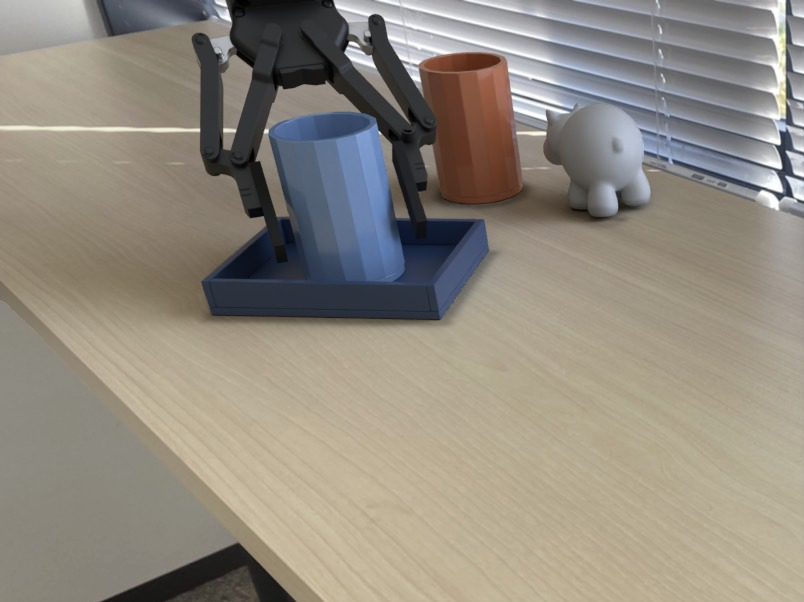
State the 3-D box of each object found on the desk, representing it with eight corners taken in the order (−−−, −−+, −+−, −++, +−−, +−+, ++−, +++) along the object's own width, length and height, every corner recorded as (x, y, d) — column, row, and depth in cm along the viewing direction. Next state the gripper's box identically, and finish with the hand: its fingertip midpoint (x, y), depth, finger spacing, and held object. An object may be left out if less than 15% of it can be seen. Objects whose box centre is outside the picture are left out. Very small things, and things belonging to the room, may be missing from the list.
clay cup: (430, 203, 103) (406, 73, 96) (454, 176, 109) (433, 51, 102) (511, 204, 102) (493, 73, 96) (531, 177, 108) (515, 51, 102)
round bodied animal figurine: (589, 174, 108) (580, 79, 103) (664, 207, 101) (658, 105, 96) (522, 192, 105) (509, 93, 100) (594, 227, 97) (584, 123, 92)
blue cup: (290, 292, 86) (250, 141, 79) (327, 254, 92) (293, 111, 85) (386, 293, 85) (354, 142, 79) (418, 255, 91) (390, 111, 85)
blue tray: (210, 315, 84) (200, 281, 83) (284, 247, 95) (276, 216, 93) (440, 319, 83) (434, 285, 81) (489, 250, 93) (484, 218, 92)
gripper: (416, -15, 94) (496, 239, 91) (121, 15, 86) (200, 291, 84) (418, -81, 87) (504, 192, 84) (97, -54, 79) (182, 245, 77)
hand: (352, 241), depth 84 cm, fingers open, 9 cm apart
